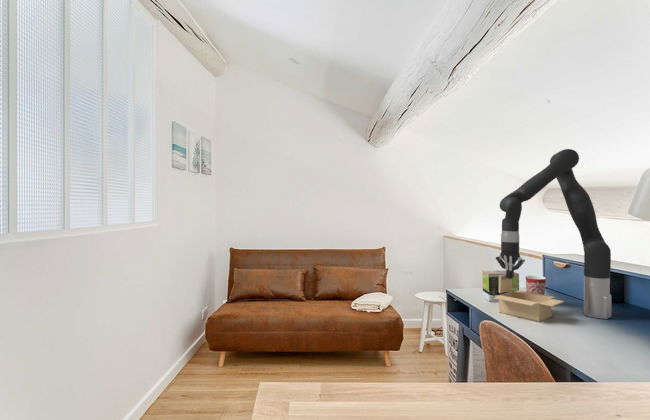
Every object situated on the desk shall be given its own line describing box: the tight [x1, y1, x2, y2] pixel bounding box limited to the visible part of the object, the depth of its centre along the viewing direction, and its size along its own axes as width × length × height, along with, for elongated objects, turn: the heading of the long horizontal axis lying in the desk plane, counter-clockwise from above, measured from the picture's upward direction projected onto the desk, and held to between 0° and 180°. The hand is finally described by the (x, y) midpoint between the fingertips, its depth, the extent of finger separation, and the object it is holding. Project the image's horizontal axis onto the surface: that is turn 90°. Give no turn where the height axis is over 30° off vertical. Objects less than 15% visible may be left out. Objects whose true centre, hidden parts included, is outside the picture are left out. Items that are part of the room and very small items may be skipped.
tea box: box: [482, 269, 520, 303], centre depth 192 cm, size 15×10×15 cm, turn 84°
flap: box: [499, 274, 512, 293], centre depth 173 cm, size 1×11×8 cm, turn 128°
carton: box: [495, 289, 565, 323], centre depth 164 cm, size 22×22×8 cm
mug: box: [525, 275, 547, 295], centre depth 185 cm, size 13×9×14 cm
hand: (509, 278), depth 171 cm, fingers closed
